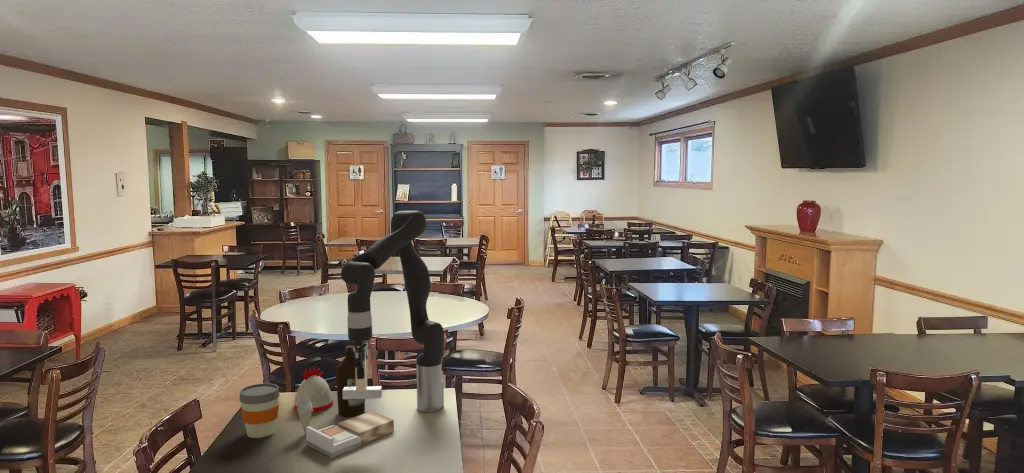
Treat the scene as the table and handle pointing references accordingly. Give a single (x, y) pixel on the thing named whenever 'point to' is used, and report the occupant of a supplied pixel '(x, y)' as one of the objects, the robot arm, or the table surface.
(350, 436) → the offwhite tile
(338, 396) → the brown rum bottle
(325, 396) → the kitchen timer
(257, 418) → the reusable coffee cup
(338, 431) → the terracotta tile
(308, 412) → the ice cream cone
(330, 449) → the box
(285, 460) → the table surface
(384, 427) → the tan flat block
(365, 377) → the scraper
